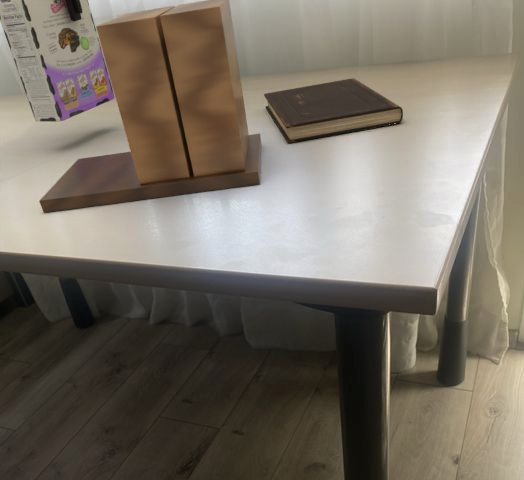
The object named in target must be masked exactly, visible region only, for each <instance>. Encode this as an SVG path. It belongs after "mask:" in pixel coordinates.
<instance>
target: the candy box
mask: <svg viewBox="0 0 524 480" xmlns="http://www.w3.org/2000/svg"><path fill="white" fill-rule="evenodd" d="M80 4H81V7H82V13H80V15H81V20H78V21H72V20H71V19H70V15H69V12H68V8H67V5H66V1H65V0H0V24H1V25H0V26H1V27H2V30H3V32H4V37H5V38H6V42H7V44H8V47H9V50H10V52H11V56H12V58H13V61H14V65H15V67H16V70H17V72H18V75H19V78H20V81H21V84H22V87H23V89H24V92H25V95H26V98H27V101H28V104H29V106H30V110H31V112H32V115H33V118H34V121H35V122H44V123H45V122H46V123H47V122H51V123H53V122H55V123H57V122H58V123H59V122H64V121H66V120H69V119H71V118H73V117H75V116H78V115H81V114H83V113H85V112H87V111H89V110H92V109H94V108H97V107H99V106H101V105H103V104H105V103H108V102H111V101H112V100H115V99H116V97H115V93H114V89H113V86H112V82H111V79H110V75H109V71H108V68H107V64H106V61H105V57H104V53H103V50H102V46H101V43H100V39H99V35H98V32H97V28H96V25H95V21H94V18H93V13H92V10H91V7H90V3H89V0H80Z"/></svg>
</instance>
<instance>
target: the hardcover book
mask: <svg viewBox="0 0 524 480" xmlns="http://www.w3.org/2000/svg"><path fill="white" fill-rule="evenodd" d="M263 96H264V98H265V100H266V102H267V105H266V106H265V109H266V110H267V113H268V114H269V115H270V117H271V118H272V120H273V122H274V124H276V126H277V128H278V130H279V132H280V133H281V134H282V136H283V137H284V139H285V141H286V142H287V144H293V143H294V144H295V143H298V142H304V141H310V140H316V139H322V138H328V137H333V136H339V135H344V134H349V133H350V134H351V133H355V132H361V130H362V131H366V130H365V129H367V130H371V129H370V128H373V129H375V128H374V127H379V126H384V125H389V124H394V123H399V124H401V122H402V121H403V117H404V110H403V107H402V106H400V105H398V104H397V103H395V102H393V101H391V100H390V99H388V98H387V97H386V96H384V95H382V94H381V93H379V92H377V91H376V90H374V89H372V88H371V87H369V86H367V85H366V84H364V83H362V82H361V81H359V80H358V79H356V78H355V77H352V78H346V79H341V80H334V81H329V82H324V83H319V84H318V83H317V84H311V85H307V86H301V87H294V88H290V89H289V88H288V89H283V90H277V91H272V92H267V93H264V94H263ZM384 127H385V126H384ZM379 128H380V127H379Z"/></svg>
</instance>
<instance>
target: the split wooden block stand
mask: <svg viewBox="0 0 524 480" xmlns="http://www.w3.org/2000/svg"><path fill="white" fill-rule="evenodd" d="M231 10H232V9H231V4H230V0H201V1H195V2H188V3H181V4H178V5H177V6H175V5H171V6H165V7H159V8H153V9H147V10H139V11H134V12H128V13H125V14H122V15H120V16H118V17H115V18H113V19H110V20H108V21H105V22H102V23H101V24H100V23H99V24H98V25H95V28H96V32H97V35H98V40H99V43H100V46H101V50H102V54H103V58H104V61H105V65H106V68H107V72H108V75H109V79H110V83H111V86H112V90H113V94H114V97H115V99H116V100H115V101H116V103H117V107H118V111H119V115H120V118H121V122H122V125H123V129H124V133H125V136H126V139H127V143H128V147H129V150H130V151H124V152H119V153H118V152H117V153H111V154H104V155H103V154H102V155H96V156H90V157H83V158H82V157H81V158H78V159H76V161H75V162H74V163H73V164H72V165H71V166H70V167H69V168H68V169H67V170H66V171H65V172H64V174H63V175H62V176H61V177H60V178H59V179H58V180H57V181H56V182H55V183H54V184H53V185H52V186H51V187H50V189H49V190H48V191H47V192H45V194H44V195H43V196H42V197H41V198H40V199H39V201H38V202H39V204H40V207H41V210H42V212H43V213H53V212H60V211H67V210H76V209H83V208H89V207H91V208H92V207H98V206H104V205H105V206H107V205H113V204H120V203H128V202H129V203H130V202H134V201H135V202H136V201H137V202H138V201H143V200H150V199H151V200H152V199H158V198H167V197H172V196H173V197H175V196H180V195H182V196H183V195H190V194H197V193H205V192H212V191H219V190H226V189H233V188H235V189H236V188H242V187H249V186H256V185H261V170H262V169H261V165H262V138H261V133H253V134H249V127H248V121H247V113H246V106H245V100H244V93H243V86H242V79H241V71H240V66H239V58H238V51H237V45H236V38H235V31H234V24H233V19H232V18H233V16H232V13H231V12H232V11H231Z"/></svg>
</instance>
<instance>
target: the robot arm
mask: <svg viewBox="0 0 524 480" xmlns="http://www.w3.org/2000/svg"><path fill="white" fill-rule="evenodd" d="M65 1H66V5H67V8H68V12H69V15H70V19H71V20H72V21H78V20H81V15H80V13H82V7H81V4H80V0H65Z"/></svg>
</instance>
